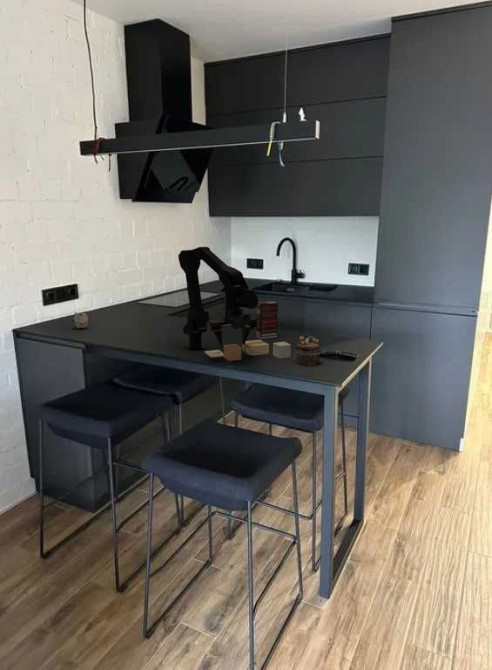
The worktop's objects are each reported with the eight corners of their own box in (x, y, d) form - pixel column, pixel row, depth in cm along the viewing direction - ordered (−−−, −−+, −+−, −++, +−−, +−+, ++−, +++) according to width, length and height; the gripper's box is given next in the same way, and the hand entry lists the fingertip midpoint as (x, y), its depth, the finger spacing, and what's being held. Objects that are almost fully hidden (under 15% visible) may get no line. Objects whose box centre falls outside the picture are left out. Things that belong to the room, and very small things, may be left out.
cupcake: (289, 360, 178) (290, 335, 175) (309, 357, 182) (311, 332, 180) (305, 367, 170) (306, 340, 167) (326, 364, 175) (327, 337, 172)
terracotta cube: (223, 357, 181) (223, 345, 180) (235, 356, 183) (235, 343, 182) (228, 361, 176) (228, 348, 175) (241, 359, 179) (241, 347, 177)
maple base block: (242, 351, 191) (242, 341, 190) (260, 349, 194) (260, 339, 193) (249, 356, 184) (250, 346, 183) (268, 354, 187) (268, 344, 186)
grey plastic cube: (272, 355, 185) (273, 342, 184) (284, 353, 187) (284, 341, 186) (278, 358, 181) (279, 346, 179) (290, 357, 183) (290, 344, 181)
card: (204, 352, 187) (204, 351, 187) (218, 350, 190) (218, 349, 190) (211, 357, 180) (211, 356, 180) (225, 356, 183) (225, 354, 183)
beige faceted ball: (85, 335, 227) (95, 317, 230) (85, 332, 219) (95, 314, 222) (67, 326, 225) (77, 308, 228) (66, 323, 217) (77, 305, 220)
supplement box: (272, 335, 216) (273, 300, 213) (277, 337, 212) (278, 302, 208) (255, 336, 213) (255, 301, 209) (259, 339, 209) (260, 303, 205)
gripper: (216, 310, 164) (216, 354, 168) (264, 307, 171) (263, 348, 175) (205, 305, 174) (206, 346, 178) (251, 302, 181) (251, 341, 185)
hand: (232, 345), depth 179 cm, fingers open, 9 cm apart
